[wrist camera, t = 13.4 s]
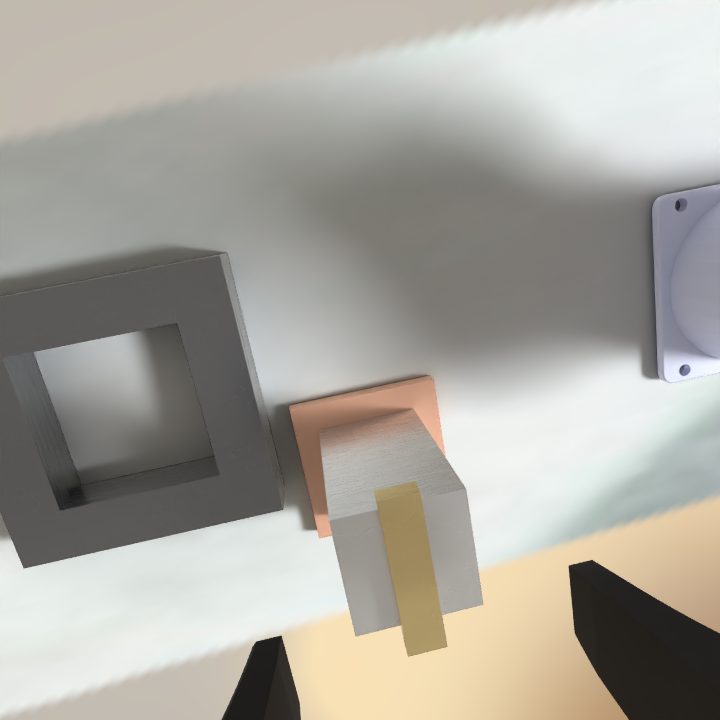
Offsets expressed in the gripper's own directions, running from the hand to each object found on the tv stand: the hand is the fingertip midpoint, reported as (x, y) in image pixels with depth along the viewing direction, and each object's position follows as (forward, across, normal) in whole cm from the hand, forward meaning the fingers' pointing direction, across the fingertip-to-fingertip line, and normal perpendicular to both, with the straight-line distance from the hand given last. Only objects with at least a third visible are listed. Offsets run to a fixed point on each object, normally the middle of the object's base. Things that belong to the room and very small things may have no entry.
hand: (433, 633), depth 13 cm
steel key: (+10, 0, 0) cm, 10 cm away
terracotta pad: (+10, 0, 0) cm, 10 cm away
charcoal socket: (+10, +9, -4) cm, 14 cm away
